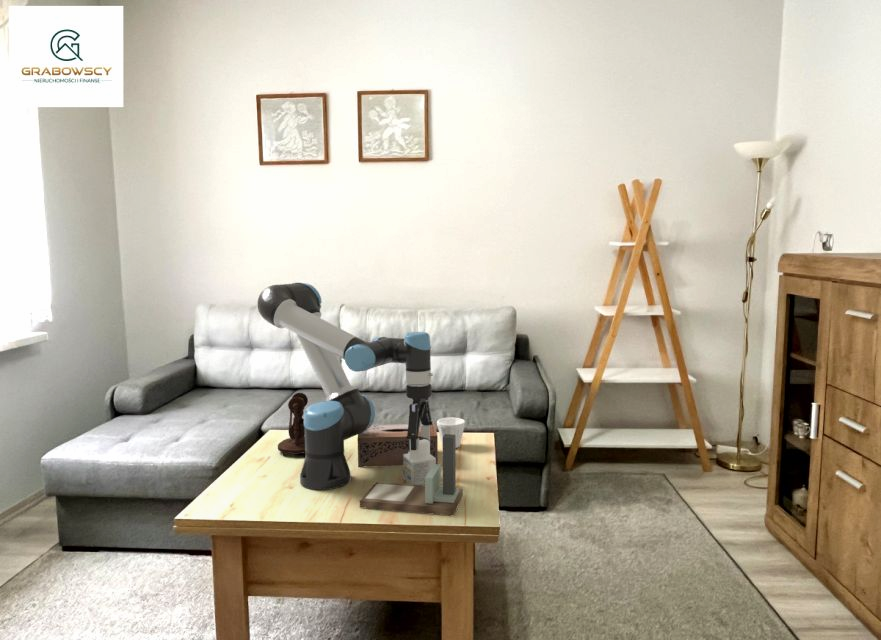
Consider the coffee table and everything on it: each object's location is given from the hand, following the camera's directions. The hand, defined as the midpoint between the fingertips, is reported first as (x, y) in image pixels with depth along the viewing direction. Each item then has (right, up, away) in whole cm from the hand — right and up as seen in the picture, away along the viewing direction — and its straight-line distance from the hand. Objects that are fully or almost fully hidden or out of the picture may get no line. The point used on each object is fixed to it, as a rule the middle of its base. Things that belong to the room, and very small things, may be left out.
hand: (420, 452), depth 192 cm
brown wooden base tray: (-2, -10, -15) cm, 18 cm away
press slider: (+7, -8, -17) cm, 20 cm away
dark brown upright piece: (-43, -6, +30) cm, 53 cm away
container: (0, -9, +1) cm, 9 cm away
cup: (+10, -5, +34) cm, 35 cm away
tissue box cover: (-8, -7, +21) cm, 24 cm away
